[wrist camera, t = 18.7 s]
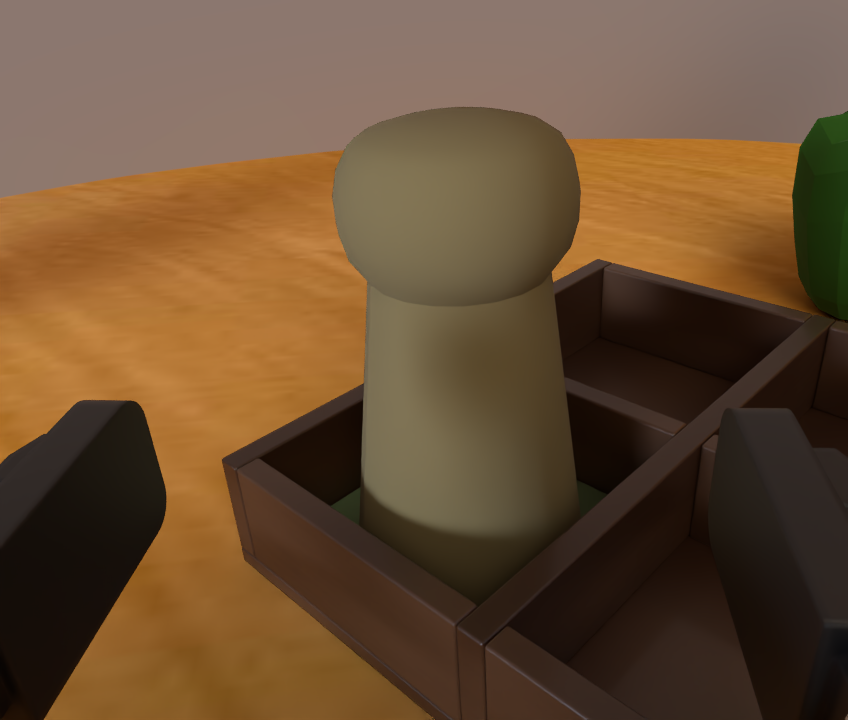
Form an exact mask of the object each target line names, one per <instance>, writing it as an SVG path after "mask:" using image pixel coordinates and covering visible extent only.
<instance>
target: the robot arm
mask: <svg viewBox="0 0 848 720" xmlns="http://www.w3.org/2000/svg"><path fill="white" fill-rule="evenodd" d="M165 511H166V489H165V484H164V481H163V477H162V474H161V470H160V467H159V463H158V460H157V456H156V452H155V449H154V445H153V442H152V438H151V435H150V431H149V427H148V424H147V420H146V417H145V414H144V411H143V410H142V408H141V406H140V405H139V404H138V403H137V402H135V401H115V400H83V401H79V402H77V403H76V404H75V405H74V406H73V407H72V408H71V409H70V410H69V411H68V412H67V413H66V414H65V415H64V416H63V417H62V418H61V419H60V420H59V421H58V422H57V423H56V424H55V425H54V427H53V428H52V429H51V430H50V431H49V432H48V433H47V434H43V435H41V436H40V437H38V438H37V439H35V440H33V441H32V442H30V443H28V444H27V445H25V446H23V447H22V448H20V449H19V450H17V451H15V452H14V453H12V454H10V455H9V456H8V457H7V458H6V459H5V460H4V461H3V462H2V463H1V464H0V720H44V718H45V716H46V715H47V713H48V711H49V710H50V708H51V707H52V705H53V703H54V702H55V700H56V698H57V697H58V695H59V694H60V692H61V690H62V689H63V687H64V685H65V684H66V682H67V680H68V679H69V677H70V676H71V674H72V672H73V671H74V669H75V667H76V666H77V664H78V663H79V661H80V659H81V658H82V656H83V654H84V653H85V651H86V649H87V648H88V646H89V645H90V643H91V641H92V640H93V638H94V636H95V635H96V633H97V632H98V630H99V628H100V627H101V625H102V623H103V622H104V620H105V618H106V617H107V615H108V614H109V612H110V610H111V609H112V607H113V605H114V604H115V602H116V601H117V599H118V597H119V596H120V594H121V592H122V591H123V589H124V587H125V586H126V584H127V583H128V581H129V579H130V578H131V576H132V574H133V573H134V571H135V570H136V568H137V566H138V565H139V563H140V561H141V560H142V558H143V556H144V555H145V553H146V552H147V550H148V548H149V547H150V545H151V543H152V542H153V540H154V539H155V537H156V535H157V534H158V532H159V530H160V528H161V526H162V523H163V520H164V516H165ZM708 529H709V538H710V544H711V549H712V553H713V556H714V559H715V563H716V566H717V569H718V573H719V576H720V579H721V583H722V586H723V589H724V593H725V596H726V599H727V602H728V606H729V609H730V612H731V616H732V619H733V622H734V626H735V629H736V632H737V636H738V639H739V642H740V646H741V649H742V652H743V656H744V659H745V662H746V666H747V669H748V672H749V676H750V679H751V682H752V686H753V689H754V692H755V696H756V699H757V702H758V705H759V709H760V712H761V715H762V719H763V720H848V458H847V457H846V456H845V455H844V454H842V453H841V452H840V451H838V450H837V449H836V448H812V446H811V444H810V443H809V441H808V439H807V437H806V435H805V434H804V432H803V430H802V428H801V426H800V425H799V423H798V421H797V419H796V417H795V416H794V414H793V412H792V411H791V410H790V409H787V408H727V409H725V411H724V413H723V415H722V419H721V423H720V429H719V436H718V443H717V450H716V456H715V463H714V470H713V477H712V483H711V490H710V497H709V505H708Z"/></svg>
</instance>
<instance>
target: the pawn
mask: <svg viewBox="0 0 848 720" xmlns="http://www.w3.org/2000/svg"><path fill="white" fill-rule="evenodd" d="M580 194H581V190H580V182H579V176H578V172H577V167H576V162H575V158H574V154H573V152H572V150H571V149H570V147H569V145H568V143H567V142H566V140H565V138H564V137H563V135H562V133H561V132H560V131H559V130H557V129H555V128H554V127H552V126H551V125H549V124H547V123H546V122H544V121H543V120H541V119H539V118H537V117H535V116H531V115H528V114H524V113H519V112H513V111H507V110H501V109H493V108H484V107H483V108H482V107H452V108H442V109H431V110H426V111H420V112H414V113H411V114H407V115H403V116H400V117H396V118H393V119H389V120H386V121H382V122H379V123H377V124H375V125H373V126H371V127H368V128H367V129H365V130H364V131H363V132H361V133H360V134H359V135H357V136H356V137H355V138H354V139H353V140H352V141H351V142H350V143H349V144H348V145H347V146H346V148H345V150H344V152H343V155H342V157H341V159H340V161H339V163H338V165H337V168H336V170H335V178H334V186H333V194H332V198H333V205H334V212H335V219H336V225H337V229H338V234H339V237H340V239H341V242H342V244H343V247H344V250H345V252H346V255H347V257H348V260H349V262H350V263H351V264H352V265H353V266H354V267H355V268H356V269H357V270H358V271H359V272H360V274H361V275H362V276H363V277H364V278H365V279H366V280H367V309H366V339H365V369H364V398H363V428H362V458H361V487H360V517H359V526H361V527H362V528H364V529H365V530H367V531H368V532H370V533H371V534H373V535H374V536H376V537H377V538H378V539H380V540H381V541H383V542H384V543H386V544H387V545H389V546H390V547H392V548H393V549H395V550H396V551H398V552H399V553H401V554H402V555H404V556H405V557H407V558H408V559H410V560H411V561H413V562H414V563H416V564H417V565H419V566H420V567H422V568H423V569H425V570H426V571H428V572H429V573H431V574H432V575H434V576H435V577H437V578H438V579H440V580H441V581H443V582H444V583H446V584H447V585H449V586H450V587H451V588H453V589H454V590H456V591H457V592H459V593H460V594H462V595H463V596H465V597H466V598H468V599H469V600H471V601H472V602H474V603H475V604H476V605H477V607H479V606H480V605H481V604H482V603H483V602H485V601H486V600H487V599H488V598H489V597H490V596H491V595H493V594H494V593H495V592H496V591H497V590H498V589H500V588H501V587H502V586H503V585H504V584H505V583H506V582H508V581H509V580H510V579H511V578H512V577H513V576H514V575H516V574H517V573H518V572H519V571H520V570H521V569H523V568H524V567H525V566H526V565H527V564H528V563H529V562H531V561H532V560H533V559H534V558H535V557H536V556H537V555H539V554H540V553H541V552H542V551H543V550H544V549H546V548H547V547H548V546H549V545H550V544H551V543H552V542H554V541H555V540H556V539H557V538H558V537H559V536H560V535H562V534H563V533H564V532H565V531H566V530H567V529H568V528H570V527H571V526H572V525H573V524H574V523H575V522H577V521H578V520H579V519H580V518H581V513H580V505H579V497H578V488H577V480H576V472H575V463H574V455H573V447H572V438H571V430H570V422H569V413H568V405H567V397H566V388H565V380H564V372H563V363H562V355H561V347H560V338H559V330H558V322H557V313H556V305H555V297H554V288H553V280H552V271H553V269H554V268H555V267H556V266H557V264H558V263H559V262H560V260H561V259H562V258H563V257H564V255H565V254H566V253H567V251H568V250H569V249H570V247H571V245H572V241H573V238H574V235H575V232H576V228H577V225H578V222H579V212H580Z"/></svg>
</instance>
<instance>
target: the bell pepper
mask: <svg viewBox="0 0 848 720" xmlns="http://www.w3.org/2000/svg"><path fill="white" fill-rule="evenodd" d="M792 199H793V219H794V238H795V249H796V258H797V266H798V275H799V278H800V280H801V282H802V284H803V286H804V288H805V291H806V293H807V295H808V296H809V297H810V299H811V300H812V301H813V302H814V304H815V305H816V306H817V307H818V309H820V310H822V311H824V312H826V313H828V314H830V315H832V316H834V317H836V318H838V319H841V320H848V111H847V112H845V113H844V114H841V115H836V116H830V117H825V118H819V119H818V120H817V121H816V123H815V124H814V126H813V128H812V129H811V131H810V132H809V134H808V135H807V137H806V139H805V140H804V142H803V143H802V145H801V146H800V149H799V156H798V162H797V169H796V175H795V181H794V188H793V194H792Z"/></svg>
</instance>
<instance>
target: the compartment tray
mask: <svg viewBox="0 0 848 720" xmlns="http://www.w3.org/2000/svg"><path fill="white" fill-rule="evenodd" d="M553 288H554V297H555V305H556V313H557V322H558V330H559V338H560V347H561V355H562V363H563V372H564V380H565V388H566V397H567V405H568V413H569V422H570V430H571V438H572V447H573V455H574V463H575V472H576V480H577V488H578V497H579V505H580V513H581V518H580V519H579V520H578V521H577V522H575V523H574V524H573V525H572V526H571V527H570V528H568V529H567V530H566V531H565V532H564V533H563V534H562V535H560V536H559V537H558V538H557V539H556V540H555V541H554V542H552V543H551V544H550V545H549V546H548V547H547V548H546V549H544V550H543V551H542V552H541V553H540V554H539V555H537V556H536V557H535V558H534V559H533V560H532V561H531V562H529V563H528V564H527V565H526V566H525V567H524V568H523V569H521V570H520V571H519V572H518V573H517V574H516V575H514V576H513V577H512V578H511V579H510V580H509V581H508V582H506V583H505V584H504V585H503V586H502V587H501V588H500V589H498V590H497V591H496V592H495V593H494V594H493V595H491V596H490V597H489V598H488V599H487V600H486V601H485V602H483V603H482V604H481V605H480V606H479V607H477V605H476V604H475V603H474V602H472V601H471V600H469V599H468V598H466V597H465V596H463V595H462V594H460V593H459V592H457V591H456V590H454V589H453V588H451V587H450V586H449V585H447V584H446V583H444V582H443V581H441V580H440V579H438V578H437V577H435V576H434V575H432V574H431V573H429V572H428V571H426V570H425V569H423V568H422V567H420V566H419V565H417V564H416V563H414V562H413V561H411V560H410V559H408V558H407V557H405V556H404V555H402V554H401V553H399V552H398V551H396V550H395V549H393V548H392V547H390V546H389V545H387V544H386V543H384V542H383V541H381V540H380V539H378V538H377V537H376V536H374V535H373V534H371V533H370V532H368V531H367V530H365V529H364V528H362V527H361V526H359V517H360V487H361V458H362V428H363V398H364V383H363V384H362V385H360V386H358V387H356V388H354V389H352V390H350V391H348V392H347V393H345V394H343V395H341V396H339V397H337V398H335V399H333V400H331V401H330V402H328V403H326V404H324V405H322V406H320V407H318V408H316V409H315V410H313V411H311V412H309V413H307V414H305V415H303V416H301V417H300V418H298V419H296V420H294V421H292V422H290V423H288V424H286V425H284V426H283V427H281V428H279V429H277V430H275V431H273V432H271V433H269V434H268V435H266V436H264V437H262V438H260V439H258V440H256V441H254V442H252V443H251V444H249V445H247V446H245V447H243V448H241V449H239V450H237V451H236V452H234V453H232V454H230V455H228V456H226V457H224V458H223V459H222V463H223V468H224V472H225V476H226V481H227V485H228V489H229V494H230V498H231V502H232V507H233V511H234V515H235V520H236V524H237V528H238V533H239V537H240V541H241V545H242V551H243V555H244V559H245V561H247V562H248V563H249V564H250V565H251V566H253V567H254V568H255V569H256V570H257V571H259V572H260V573H261V574H262V575H263V576H265V577H266V578H267V579H268V580H269V581H271V582H272V583H273V584H274V585H275V586H277V587H278V588H279V589H280V590H281V591H283V592H284V593H285V594H286V595H287V596H289V597H290V598H291V599H292V600H293V601H295V602H296V603H297V604H298V605H299V606H300V607H302V608H303V609H304V610H305V611H306V612H308V613H309V614H310V615H311V616H312V617H314V618H315V619H316V620H317V621H318V622H320V623H321V624H322V625H323V626H324V627H326V628H327V629H328V630H329V631H330V632H332V633H333V634H334V635H335V636H336V637H338V638H339V639H340V640H341V641H342V642H344V643H345V644H346V645H347V646H348V647H350V648H351V649H352V650H353V651H354V652H355V653H357V654H358V655H359V656H360V657H361V658H363V659H364V660H365V661H366V662H367V663H369V664H370V665H371V666H372V667H373V668H375V669H376V670H377V671H378V672H379V673H381V674H382V675H383V676H384V677H385V678H387V679H388V680H389V681H390V682H391V683H393V684H394V685H395V686H396V687H397V688H399V689H400V690H401V691H402V692H403V693H405V694H406V695H407V696H408V697H409V698H411V699H412V700H413V701H414V702H415V703H416V704H418V705H419V706H420V707H421V708H422V709H424V710H425V711H426V712H427V713H428V714H430V715H431V716H432V717H433V718H434V719H436V720H763V719H762V715H761V712H760V709H759V705H758V702H757V699H756V696H755V692H754V689H753V686H752V682H751V679H750V676H749V672H748V669H747V666H746V662H745V659H744V656H743V652H742V649H741V646H740V642H739V639H738V636H737V632H736V629H735V626H734V622H733V619H732V616H731V612H730V609H729V606H728V602H727V599H726V596H725V593H724V589H723V586H722V583H721V579H720V576H719V573H718V569H717V566H716V563H715V559H714V556H713V553H712V549H711V544H710V538H709V529H708V505H709V497H710V490H711V483H712V477H713V470H714V463H715V456H716V450H717V443H718V436H719V429H720V423H721V419H722V415H723V413H724V411H725V409H727V408H787V409H790V410H791V411H792V412H793V414H794V416H795V417H796V419H797V421H798V423H799V425H800V426H801V428H802V430H803V432H804V434H805V435H806V437H807V439H808V441H809V443H810V444H811V446H812V448H836V449H837V450H838V451H840V452H841V453H842V454H844V455H845V456H846V457H847V458H848V323H845V322H842V321H836V320H834V319H830V318H826V317H822V316H819V315H813V316H812V314H810V313H806V312H802V311H798V310H794V309H790V308H786V307H782V306H779V305H775V304H771V303H767V302H763V301H759V300H755V299H751V298H747V297H743V296H740V295H736V294H732V293H728V292H724V291H720V290H716V289H712V288H708V287H704V286H700V285H697V284H693V283H689V282H685V281H681V280H677V279H673V278H669V277H665V276H661V275H658V274H654V273H650V272H646V271H642V270H638V269H634V268H630V267H626V266H622V265H618V264H615V263H613V264H612V263H611V262H607V261H603V260H600V259H597V260H595V261H593V262H591V263H589V264H587V265H585V266H583V267H582V268H580V269H578V270H576V271H574V272H572V273H570V274H568V275H567V276H565V277H563V278H561V279H559V280H557V281H555V282H553Z"/></svg>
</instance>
